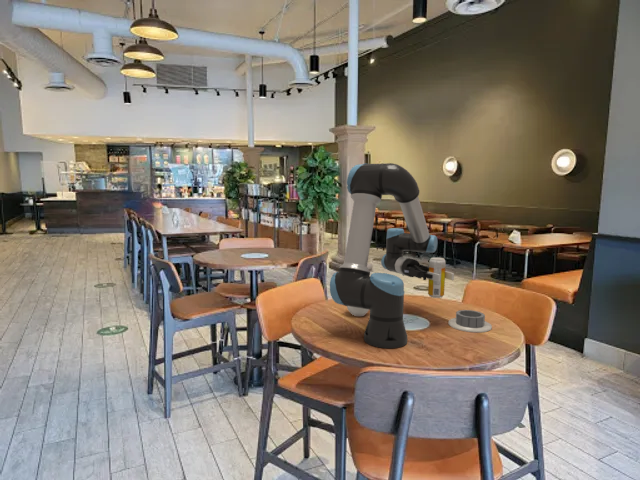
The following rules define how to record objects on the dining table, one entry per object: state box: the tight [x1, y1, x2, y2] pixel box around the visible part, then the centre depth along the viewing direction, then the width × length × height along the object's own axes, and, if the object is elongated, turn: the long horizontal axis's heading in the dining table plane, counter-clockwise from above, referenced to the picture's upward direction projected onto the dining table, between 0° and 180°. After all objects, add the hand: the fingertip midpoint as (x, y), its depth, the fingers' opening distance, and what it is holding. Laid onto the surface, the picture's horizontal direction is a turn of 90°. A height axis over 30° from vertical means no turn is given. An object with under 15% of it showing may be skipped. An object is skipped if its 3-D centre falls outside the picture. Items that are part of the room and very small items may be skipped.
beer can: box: [427, 257, 446, 299], centre depth 165 cm, size 6×6×15 cm
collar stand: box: [448, 309, 493, 333], centre depth 166 cm, size 16×16×5 cm
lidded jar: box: [346, 306, 370, 317], centre depth 180 cm, size 11×11×9 cm
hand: (446, 277), depth 160 cm, fingers closed on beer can, 6 cm apart
